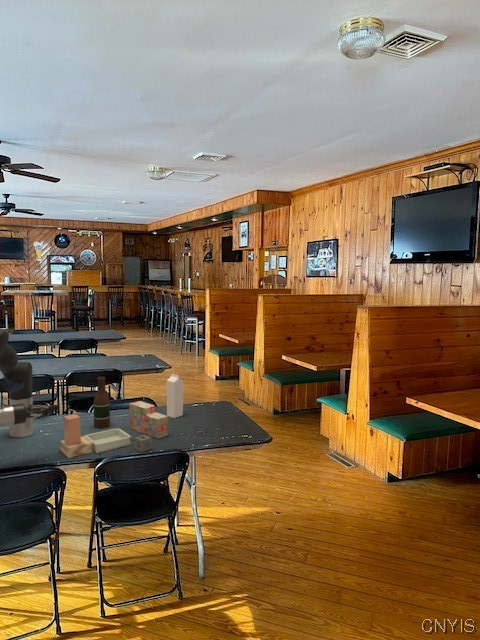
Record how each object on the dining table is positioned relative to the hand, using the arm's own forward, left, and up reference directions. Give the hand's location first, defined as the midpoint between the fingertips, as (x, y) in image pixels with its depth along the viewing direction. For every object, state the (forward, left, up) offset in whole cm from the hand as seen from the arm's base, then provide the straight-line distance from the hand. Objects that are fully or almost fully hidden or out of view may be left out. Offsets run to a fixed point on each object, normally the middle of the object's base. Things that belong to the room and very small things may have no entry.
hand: (57, 407), depth 185 cm
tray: (+18, +10, -20) cm, 29 cm away
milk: (+47, +46, -20) cm, 69 cm away
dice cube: (+33, +3, -20) cm, 39 cm away
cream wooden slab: (+6, +3, -20) cm, 21 cm away
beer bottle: (+12, +34, -20) cm, 42 cm away
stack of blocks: (+34, +24, -20) cm, 47 cm away
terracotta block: (+5, +3, -16) cm, 17 cm away
